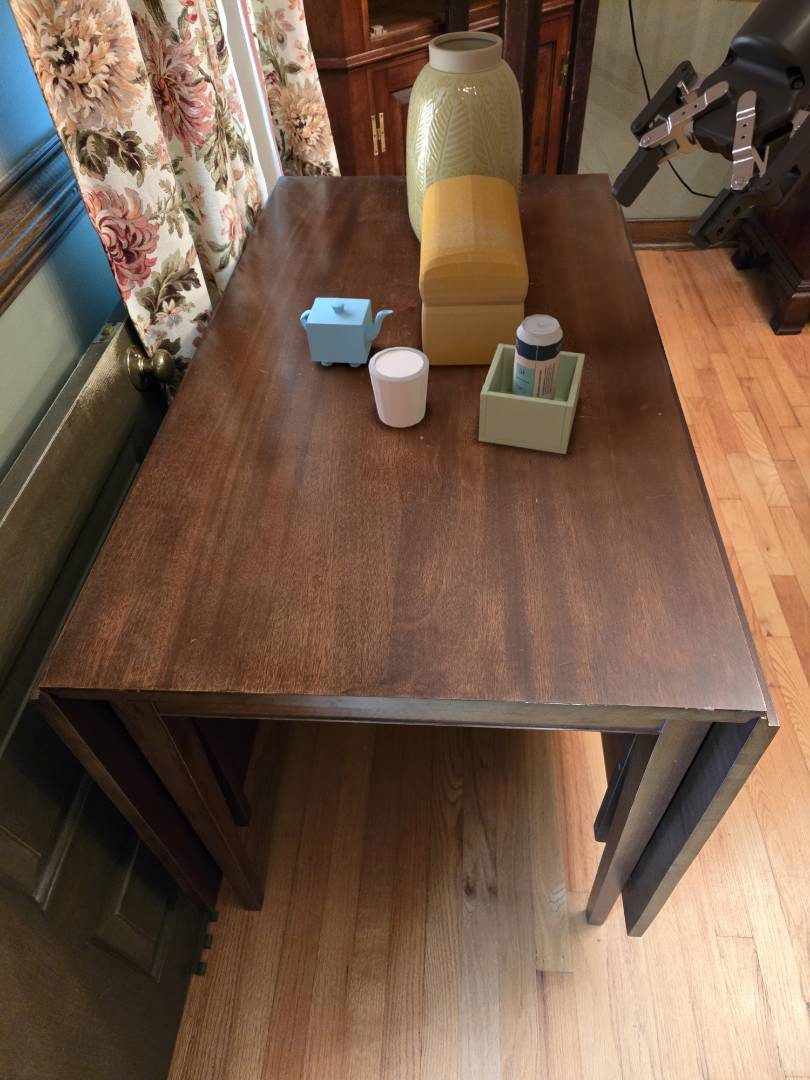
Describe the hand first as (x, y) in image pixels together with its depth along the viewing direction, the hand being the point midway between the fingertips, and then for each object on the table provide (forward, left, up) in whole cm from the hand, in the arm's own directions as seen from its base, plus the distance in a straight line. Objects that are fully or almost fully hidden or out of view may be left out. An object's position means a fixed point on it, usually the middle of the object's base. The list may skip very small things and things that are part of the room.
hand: (655, 221), depth 55 cm
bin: (+9, -10, -29) cm, 32 cm away
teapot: (+34, -18, -29) cm, 48 cm away
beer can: (+9, -10, -28) cm, 31 cm away
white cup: (+24, -8, -29) cm, 38 cm away
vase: (+27, -52, -29) cm, 65 cm away
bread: (+21, -31, -29) cm, 47 cm away
